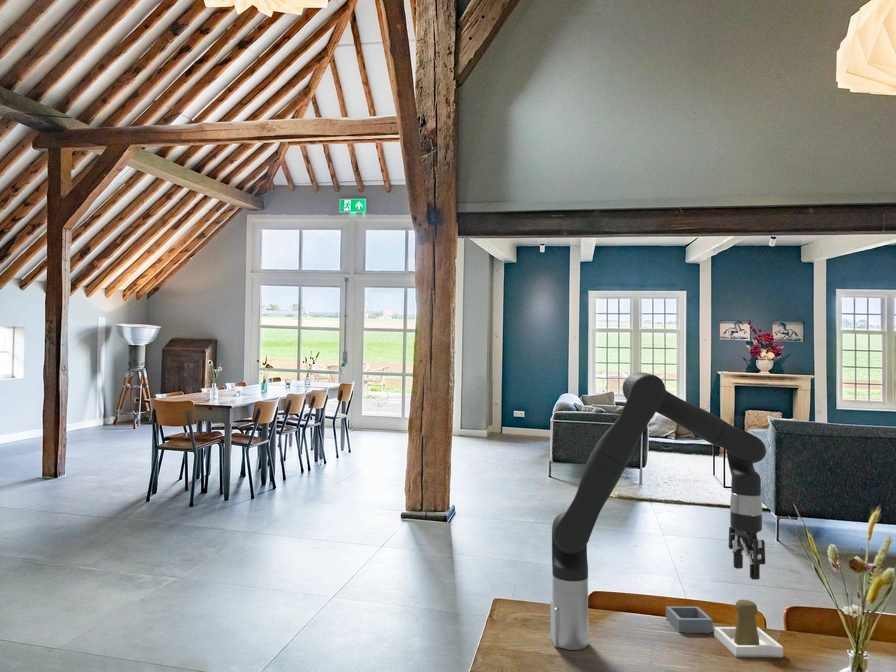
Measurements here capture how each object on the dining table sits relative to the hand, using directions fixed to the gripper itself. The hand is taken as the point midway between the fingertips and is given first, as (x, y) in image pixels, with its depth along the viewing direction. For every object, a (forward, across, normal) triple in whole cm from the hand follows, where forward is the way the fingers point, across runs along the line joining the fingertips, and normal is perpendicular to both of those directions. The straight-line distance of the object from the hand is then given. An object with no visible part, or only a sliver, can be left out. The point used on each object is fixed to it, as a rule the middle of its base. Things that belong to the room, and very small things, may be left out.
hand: (746, 573), depth 161 cm
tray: (+19, 0, 0) cm, 19 cm away
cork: (+18, 0, 0) cm, 18 cm away
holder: (+19, -13, -10) cm, 25 cm away
